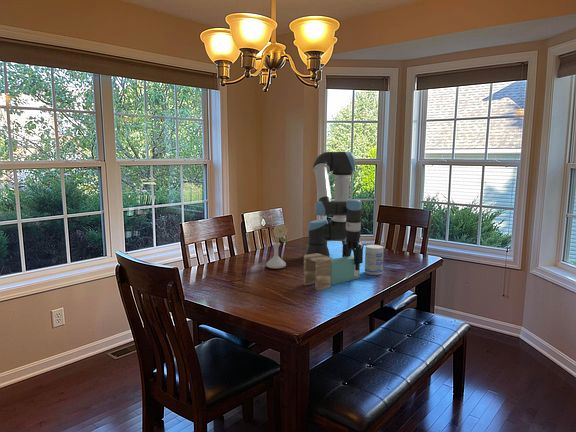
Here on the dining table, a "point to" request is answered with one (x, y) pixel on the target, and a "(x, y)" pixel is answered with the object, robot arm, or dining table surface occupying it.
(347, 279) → the beige-capped teal block
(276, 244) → the flower in vase
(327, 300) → the dining table surface
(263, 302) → the dining table surface
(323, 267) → the tunnel
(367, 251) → the supplement tub
